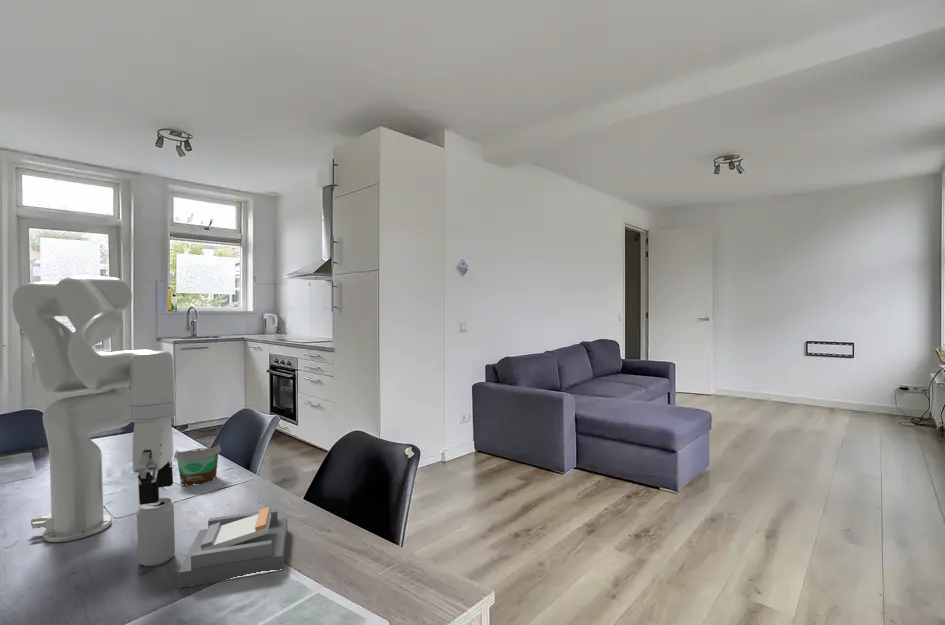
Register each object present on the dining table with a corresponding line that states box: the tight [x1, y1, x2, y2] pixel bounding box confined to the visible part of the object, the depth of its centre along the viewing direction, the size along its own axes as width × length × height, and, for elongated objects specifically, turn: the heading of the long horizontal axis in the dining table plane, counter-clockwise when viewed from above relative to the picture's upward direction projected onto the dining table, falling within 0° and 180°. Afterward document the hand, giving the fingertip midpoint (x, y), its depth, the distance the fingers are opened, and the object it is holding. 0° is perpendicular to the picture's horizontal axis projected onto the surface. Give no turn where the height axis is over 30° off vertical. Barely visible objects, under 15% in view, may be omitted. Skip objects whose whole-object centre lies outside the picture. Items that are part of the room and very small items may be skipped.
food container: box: [173, 443, 222, 486], centre depth 144 cm, size 12×6×10 cm, turn 117°
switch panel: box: [177, 509, 288, 589], centre depth 101 cm, size 18×18×6 cm
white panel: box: [201, 506, 271, 551], centre depth 101 cm, size 12×9×2 cm
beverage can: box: [136, 497, 176, 567], centre depth 100 cm, size 6×6×12 cm
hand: (157, 494), depth 100 cm, fingers open, 9 cm apart
